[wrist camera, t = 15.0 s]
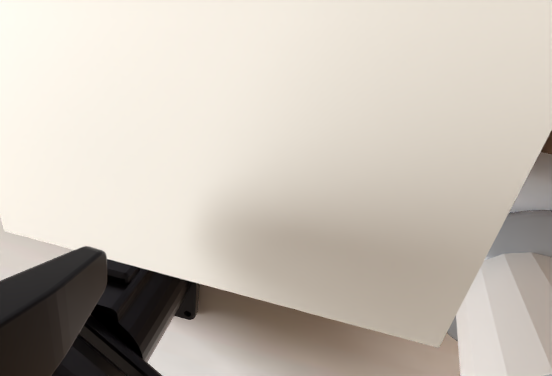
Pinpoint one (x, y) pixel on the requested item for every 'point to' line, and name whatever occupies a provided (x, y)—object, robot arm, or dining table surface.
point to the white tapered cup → (507, 318)
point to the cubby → (278, 143)
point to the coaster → (520, 240)
